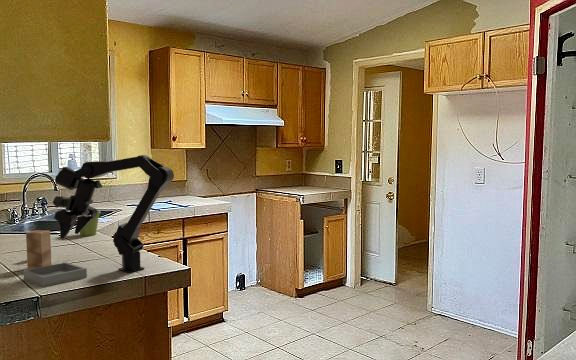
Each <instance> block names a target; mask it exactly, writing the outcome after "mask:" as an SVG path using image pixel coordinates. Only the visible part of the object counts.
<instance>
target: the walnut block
mask: <svg viewBox="0 0 576 360" xmlns="http://www.w3.org/2000/svg"><path fill="white" fill-rule="evenodd" d="M25 236H26V240H25V241H26V243H25V244H26V261H27V264H26V265H27V266H26V267H27V269H32V268H38V267H43V266H48V265H52V246H51V245H52V243H51V242H52V241H51V230H43V229H42V230H41V229H40V230H39V229H38V230H37V229H36V230H32V231H31V230H30V231H28V232H25Z"/></svg>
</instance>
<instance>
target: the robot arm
mask: <svg viewBox="0 0 576 360" xmlns="http://www.w3.org/2000/svg"><path fill="white" fill-rule="evenodd" d="M135 168H140V169H141V170H142V171H143V172H144V173H145V174H146V175H147V176H148V177H149V179H148V182H147V189H146V190H145V191H144V194H143V196H142V197H141V199H140V200H139V202H138V204H137V206H136V208H135V210H134V211H133V213H132V215H131V216H130V218H129V220H128V221H127V222H125V223H123V224H121V225H118V226H117V229H116V232H115V233H114V234H113V235H112V236H113V238H112V241H113V245H114V247H116V249H117V252H118V254H119V255H121V267H118V271H121V272H123V273H124V272H125V273H133V272H137V271H142V270H145V267H143V266H141V251H142V250H143V248H144V245H145V244H144V243H143V241H141V240H140V238H139V236H140V229H141V226H142V225H143V223H144V221H145V219H147V216H148V214H149V212H150V211H151V209H152V207H153V206H154V204H155V202H156V201H157V199H158V197H159V196H160V194H161V193H162V192H163V191H164V190H165V189H166V188H168V186H169V185H170V184H171V183H172V182H173V180H174V178H175V174H174V171H173V170H172V168H171V167H168V166H164V165H162V164H161V163H160V162H157V161H156V160H155V159H153V158H151V157H150V156H149V155H146V154H142V155H141V154H140V155H138V156H133V157H127V158H122V159H115V160H109V161H104V160H102V161H101V160H99V161H97V160H96V161H95V160H94V161H85V162H83V163H82V165H81V168H78V170H74V169H71V167H69V166H63V167H62V168H61V170H60V171H59V172H58V173H57V175H55V180H54V183H55V184H56V185H58V186H60V187H63V188H65V189H67V190H69V191H73V190H75V191H74V192H75V193H74V194H73V195H70V196H69V197H68V196H62V195H61V196H59V195H56V196H55V197H54V198H53V201H52V204H53V205H54V208H65V209H62V210H58V211H55V212H54V216H53V219H55V221H56V222H58V223H59V234H60V235H59V238H60V239H61V240H64V239H65V238H66V237H67V235H68V234H69V233H70V232H71V230H72V229H73V228H74V226H75V229H74V234H75V235H78V234H80V231H81V230H82V229H83V228H84V227H85V226H86V225H87V224H88V223H89V222H90V221H91V220H92V219H94V218H93V217H96V215H97V213H98V212H97V211H98V210H97V208H95V207H93V206H90V204H93V202H94V200H93V199H92V198H93V196H94V193H95V190H96V189H101V188H103V187H104V186H103V185H102V183H101V181H100V179H97V180H94V179H95V178H101V177H103V176H105V175H108V174H110V173H113V172H118V171H125V170H129V169H135ZM77 218H78V219H77Z"/></svg>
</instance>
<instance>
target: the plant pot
mask: <svg viewBox="0 0 576 360" xmlns="http://www.w3.org/2000/svg"><path fill="white" fill-rule="evenodd" d="M97 212H98V213H97V215H96V217H93V218H94V219H92V220H91V221H90V222H89V223H88V224H87V225H86V226H85V227H84V228H83V229H82V230H81V231H80V232H79V235H80V236H82V237H83V236H86V237H89V236H90V237H92V236H95V235H97V230H98V223H99V218H100V214H101V211H100V210H97ZM77 219H78V218H77Z"/></svg>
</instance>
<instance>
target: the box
mask: <svg viewBox="0 0 576 360" xmlns="http://www.w3.org/2000/svg"><path fill="white" fill-rule="evenodd" d="M87 271H88V270H87V268H86V267H83V266H79V265H77V264H73V263H70V262H67V261H66V262H61V263H55V264H51V265H48V266H43V267H38V268H32V269H28V268H27V269H23V280H25V281H27V282H30V283H33V284H35V285H38V286H40V287H42V288H45V287H49V286H55V285H58V284H64V283H68V281H69V282H71V281H77V279H78V280H81V279H86V278H87V277H88V273H87Z"/></svg>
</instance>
